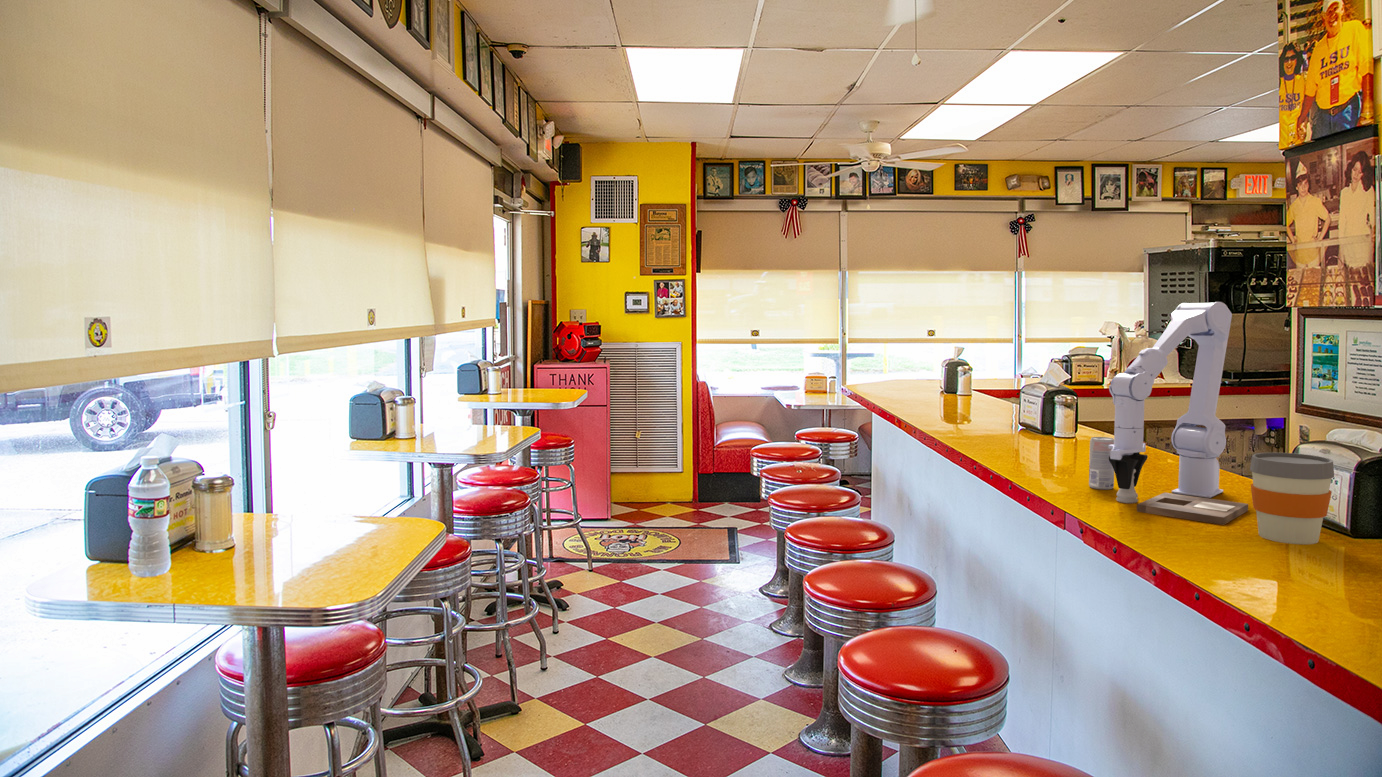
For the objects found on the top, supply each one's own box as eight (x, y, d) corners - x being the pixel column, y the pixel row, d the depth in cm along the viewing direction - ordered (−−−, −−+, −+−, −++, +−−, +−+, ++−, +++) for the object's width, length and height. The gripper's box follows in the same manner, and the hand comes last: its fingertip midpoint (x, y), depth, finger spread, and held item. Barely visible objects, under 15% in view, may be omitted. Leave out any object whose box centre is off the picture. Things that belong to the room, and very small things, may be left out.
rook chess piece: (1136, 499, 182) (1137, 464, 181) (1140, 504, 178) (1141, 468, 177) (1114, 498, 184) (1115, 464, 183) (1117, 503, 179) (1118, 467, 179)
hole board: (1164, 499, 182) (1164, 491, 182) (1247, 510, 170) (1248, 502, 170) (1136, 511, 172) (1137, 503, 172) (1223, 524, 160) (1223, 516, 160)
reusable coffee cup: (1255, 525, 159) (1258, 450, 158) (1336, 536, 150) (1340, 457, 149) (1240, 538, 150) (1243, 459, 149) (1325, 551, 141) (1329, 466, 140)
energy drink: (1108, 485, 198) (1109, 436, 197) (1117, 489, 193) (1118, 440, 192) (1085, 485, 198) (1086, 436, 197) (1094, 489, 193) (1095, 440, 192)
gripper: (1123, 422, 187) (1121, 480, 188) (1096, 428, 178) (1095, 489, 179) (1156, 424, 182) (1154, 484, 183) (1130, 431, 172) (1128, 494, 173)
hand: (1127, 487), depth 181 cm, fingers closed on rook chess piece, 3 cm apart
